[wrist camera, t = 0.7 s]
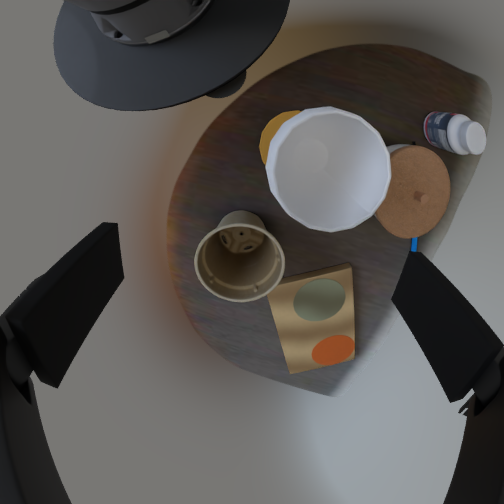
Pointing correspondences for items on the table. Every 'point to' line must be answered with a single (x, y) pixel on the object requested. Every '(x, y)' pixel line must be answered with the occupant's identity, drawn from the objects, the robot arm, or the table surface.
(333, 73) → the table surface
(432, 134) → the pill bottle
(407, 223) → the trinket box
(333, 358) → the circle
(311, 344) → the board
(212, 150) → the table surface
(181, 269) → the table surface
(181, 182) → the table surface
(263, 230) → the flower pot
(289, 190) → the cup
